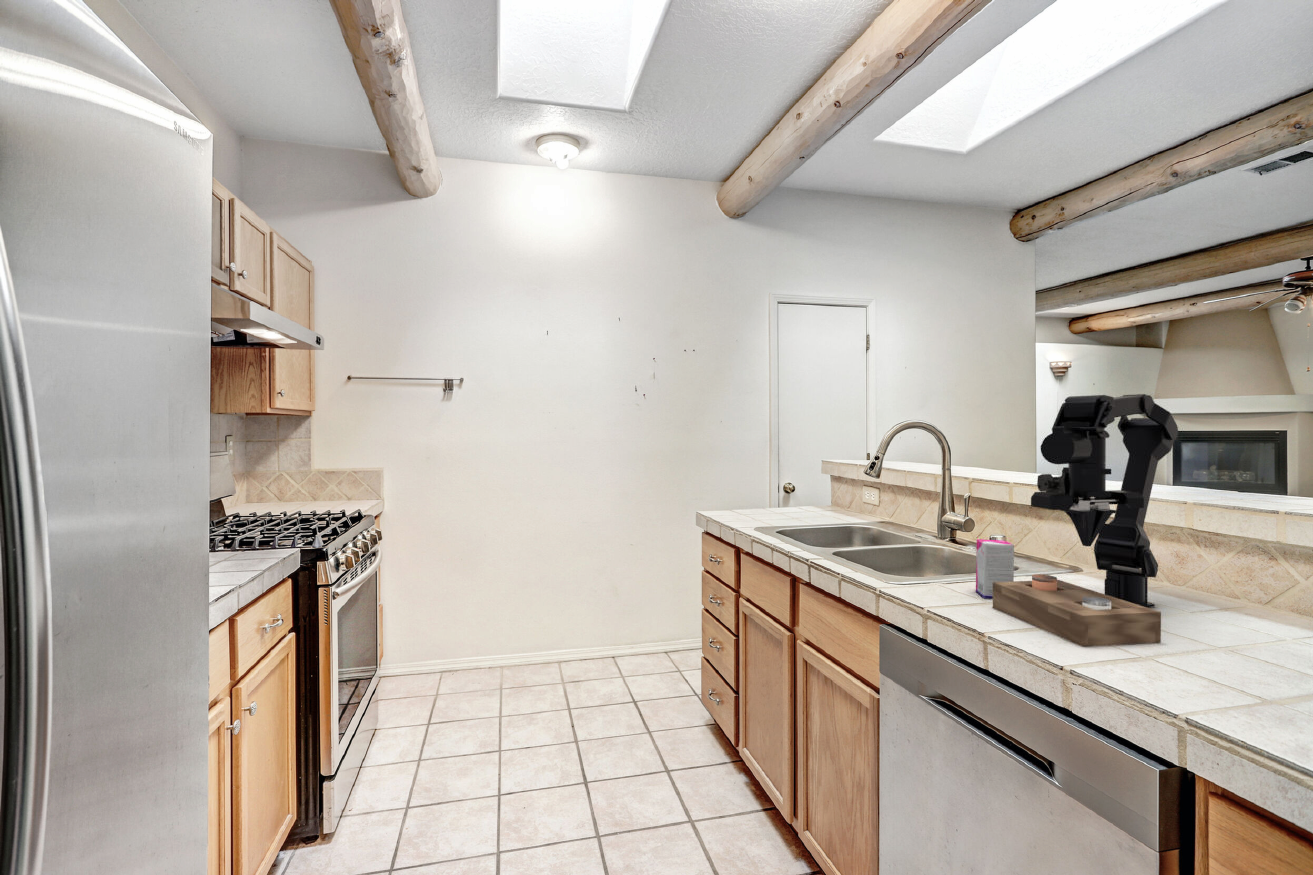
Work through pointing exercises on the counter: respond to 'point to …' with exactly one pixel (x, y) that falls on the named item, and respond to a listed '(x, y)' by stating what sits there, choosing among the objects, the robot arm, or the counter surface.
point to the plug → (1096, 603)
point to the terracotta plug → (1044, 582)
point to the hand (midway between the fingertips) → (1086, 545)
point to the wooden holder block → (1078, 614)
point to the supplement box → (993, 565)
